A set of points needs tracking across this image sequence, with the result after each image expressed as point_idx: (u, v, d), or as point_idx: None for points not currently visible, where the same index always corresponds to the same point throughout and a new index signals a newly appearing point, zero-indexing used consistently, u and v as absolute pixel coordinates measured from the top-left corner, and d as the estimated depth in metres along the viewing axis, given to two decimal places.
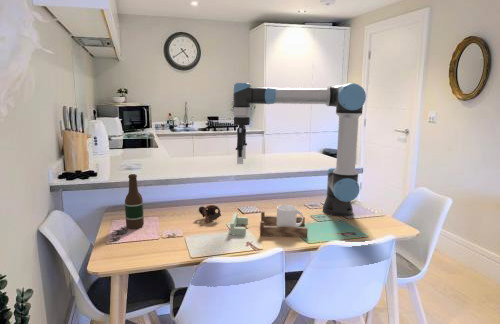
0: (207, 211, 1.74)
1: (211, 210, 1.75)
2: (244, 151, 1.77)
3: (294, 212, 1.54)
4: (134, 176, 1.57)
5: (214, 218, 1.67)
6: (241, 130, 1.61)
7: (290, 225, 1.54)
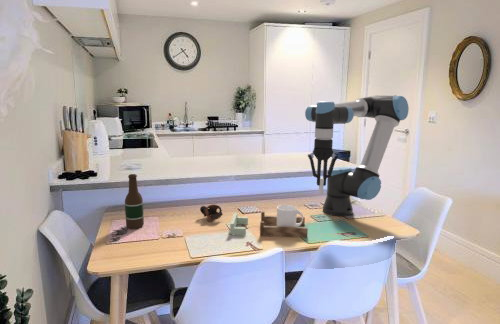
0: (208, 211, 1.75)
1: (212, 210, 1.76)
2: None
3: (294, 212, 1.54)
4: (134, 176, 1.57)
5: (216, 217, 1.68)
6: None
7: (290, 225, 1.54)
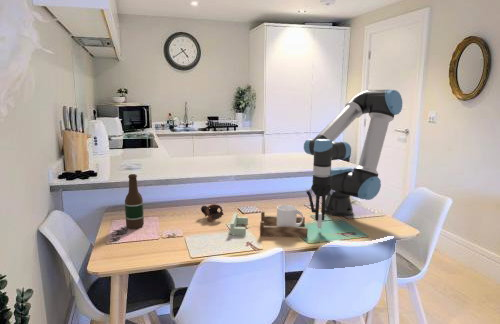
0: (209, 210, 1.75)
1: (213, 209, 1.76)
2: None
3: (294, 212, 1.54)
4: (134, 176, 1.57)
5: (217, 217, 1.68)
6: (307, 193, 1.55)
7: (290, 225, 1.54)
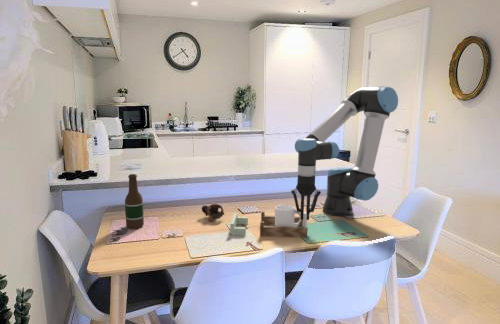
0: (210, 210, 1.76)
1: (214, 209, 1.76)
2: None
3: (292, 212, 1.54)
4: (134, 176, 1.57)
5: (217, 217, 1.69)
6: (292, 193, 1.55)
7: (289, 225, 1.54)
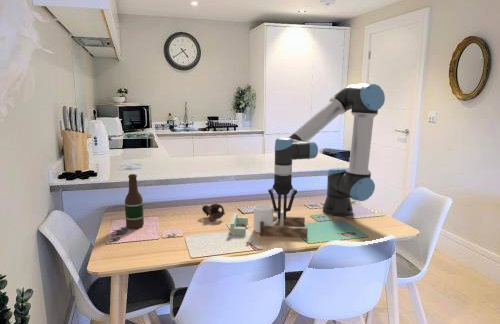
0: (211, 210, 1.76)
1: (214, 209, 1.77)
2: None
3: (272, 211, 1.55)
4: (134, 176, 1.57)
5: (218, 217, 1.69)
6: (269, 192, 1.56)
7: (269, 224, 1.55)
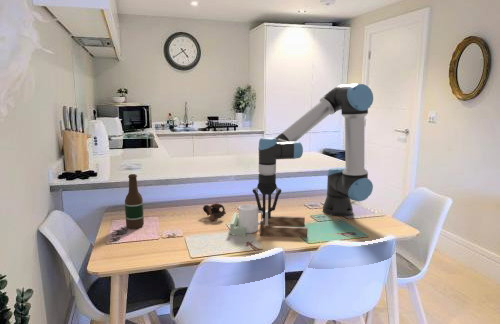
0: (211, 209, 1.77)
1: (215, 208, 1.77)
2: None
3: (256, 211, 1.55)
4: (134, 176, 1.57)
5: (219, 216, 1.70)
6: None
7: (253, 224, 1.55)
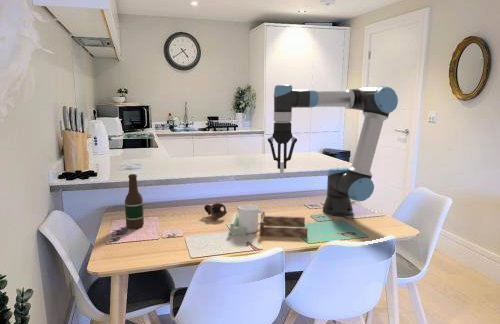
0: (212, 209, 1.77)
1: (216, 208, 1.78)
2: None
3: (256, 211, 1.55)
4: (134, 176, 1.57)
5: (220, 216, 1.70)
6: None
7: (253, 224, 1.55)
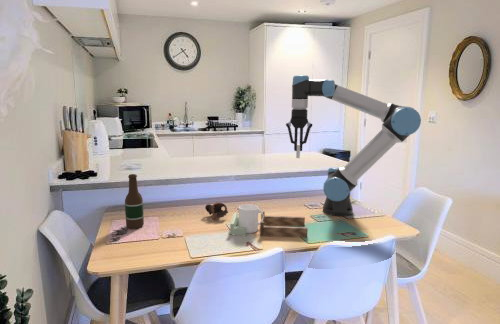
0: (213, 209, 1.78)
1: (217, 208, 1.79)
2: None
3: (256, 211, 1.55)
4: (134, 176, 1.57)
5: (222, 215, 1.71)
6: None
7: (253, 224, 1.55)
